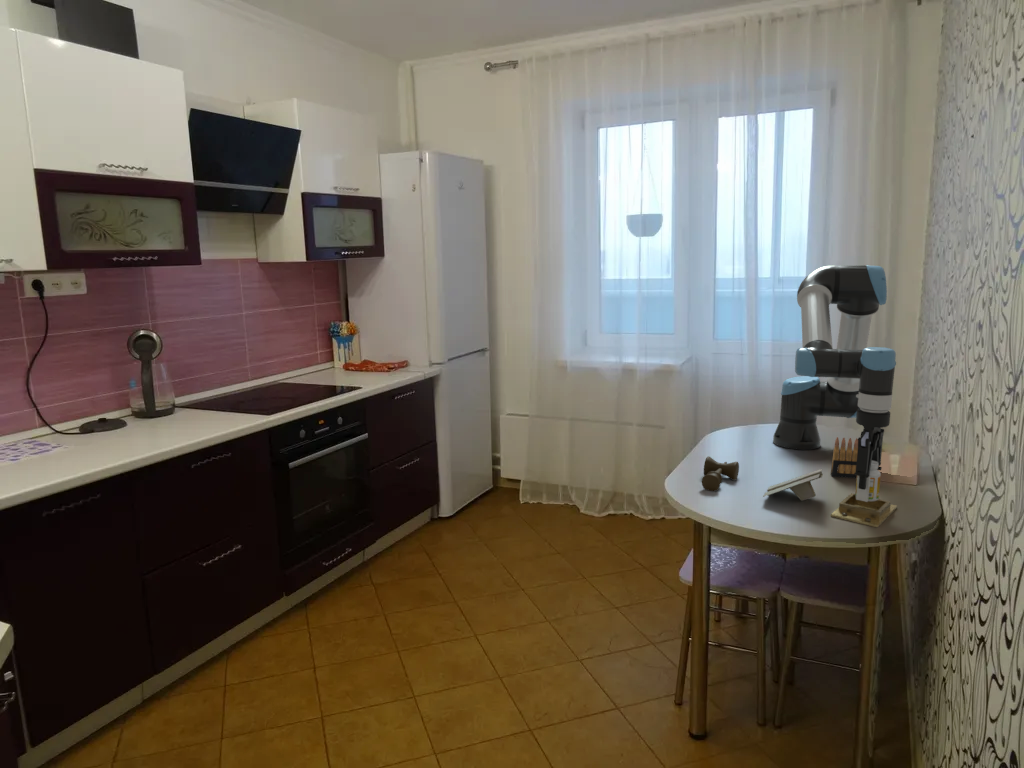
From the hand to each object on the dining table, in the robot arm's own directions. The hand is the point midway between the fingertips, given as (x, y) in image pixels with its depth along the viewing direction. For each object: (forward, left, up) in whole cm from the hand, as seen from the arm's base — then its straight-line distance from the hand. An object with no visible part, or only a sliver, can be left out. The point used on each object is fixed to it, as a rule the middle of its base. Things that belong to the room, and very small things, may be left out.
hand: (865, 496), depth 179 cm
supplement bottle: (0, 0, -1) cm, 1 cm away
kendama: (+2, -40, -5) cm, 40 cm away
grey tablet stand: (+2, -18, -5) cm, 19 cm away
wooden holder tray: (0, 0, -4) cm, 4 cm away
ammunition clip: (-27, -12, -4) cm, 29 cm away
